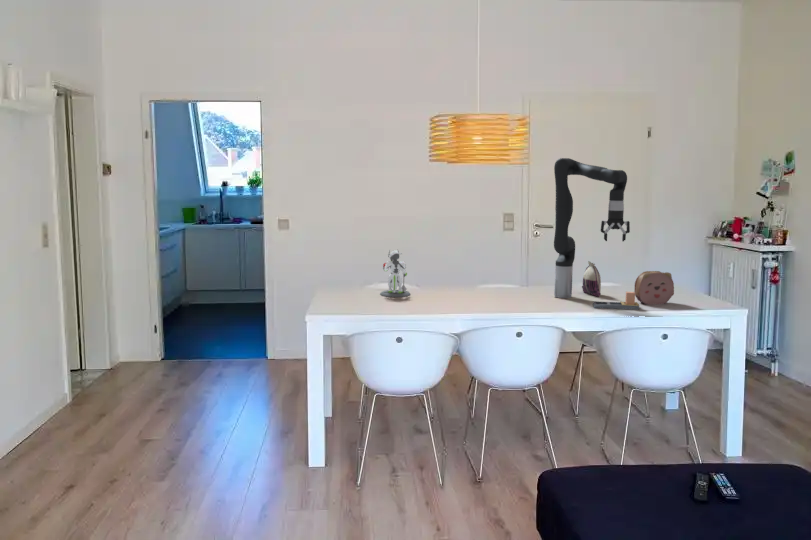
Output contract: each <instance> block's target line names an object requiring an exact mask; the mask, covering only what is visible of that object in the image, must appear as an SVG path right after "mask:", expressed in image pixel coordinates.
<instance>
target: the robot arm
mask: <svg viewBox="0 0 811 540" xmlns="http://www.w3.org/2000/svg"><path fill="white" fill-rule="evenodd" d="M553 167H554V169H553V170H554V179H555V180H554V181H555V207H554V208H555V229H554V231H555V232H554V240H553V248H554V250H555V252H556V253H557V254H558V257H557V259H556V260H555V267H554V268H555V271H554V274H555V276H554V290H553V291H554V294H553V295H554V298H560V299H561V298H562V299H568V298H569V299H570V298H572V296H573V293H572V291H573V271H574V270H573V269H574V267H573V266H574V262H575V257H576V256H575V255H576V241H575V240H574V238H573V237H571V236H569V225H570V223H571V219H572V217H573V211H574V200H573V199H574V198H573V196H572V193H571V191H570V188H569V185H568V184H569V183H568V179H569V178H568V176H583V177H586V178H588V179H591V180H595V181H600V182H605V183H608V184H611V185H613V187H612V188H611V189H610V190H609V197H608V200H609V201H608V212H607V213H608V214H607V220H601V222H600V223H601V224H600V232H601V233H602V234H603V239H604V241H605V242H608V233H609V232H610V230H620V231H621V232H622V237H621V239H622V242H625V241H626V238H627V237H626V236H627V234H629V233H631V231H630V230H631V227H630V223H631V222H630V221H629V220H626V221H625V220H624V212H625V210H624V209H625V204H624V202H625V200H624V197H625V190H626V186H627V182H628V175H627V173H626V172H625V171H624V170H623V169H622V170H621V169H616V170H615V169H609V168H607V167H605V166H604V167H603V166H597V165H592V164H587V163H583V162H580V161H578V160H576V159H575V160H574V159H573V158H567V157H565V158H564V157H560V158H558V159H557V160H556V161H555V163H554V166H553ZM606 224H607V227H606V229H605V226H606ZM624 224H625V225H624ZM623 226H625V227H626V230H625V229H624V228H623ZM604 229H605V230H604Z"/></svg>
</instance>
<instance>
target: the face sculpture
mask: <svg viewBox="0 0 811 540" xmlns="http://www.w3.org/2000/svg"><path fill="white" fill-rule="evenodd" d="M674 286H675V283H674V280H673V277H672V273H671V272H667V271H666V272H664V271H663V272H662V271H659V270H646V271H643V272H641V273H640V274H639V275H637V277H636V279H635V282H634V292H635V299H637V301H638V302H640V303H641V304H645V305H661V304H662V305H664V304H666V303H668V302H669V301H670V299H671V298H672V297H673V296H674V294H675V287H674Z"/></svg>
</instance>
